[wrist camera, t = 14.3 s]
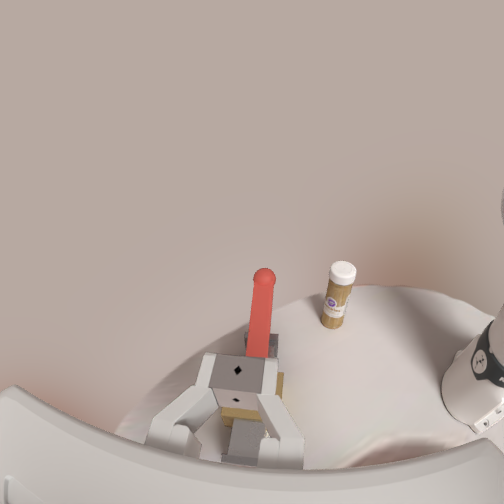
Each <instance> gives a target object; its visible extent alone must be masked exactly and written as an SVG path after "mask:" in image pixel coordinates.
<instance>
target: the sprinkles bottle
mask: <svg viewBox="0 0 504 504" xmlns="http://www.w3.org/2000/svg"><path fill="white" fill-rule="evenodd" d="M355 277H356V268H355V266H354V265H352V264H351V263H349V262H346V261H337V262H334V263H333V264H332V265H331V267H330V272H329V283H328V288H327V293H326V297H325V302H324V307H323V314H322V316H321V322H322V324H323V325H324V326H325V327H327V328H330V329H335V328H338V327H340V326H341V325H342V323H343V318H344V314H345V312H346V308H347V305H348V301H349V297H350V293H351V288H352V285H353V282H354V280H355Z"/></svg>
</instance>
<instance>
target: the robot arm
mask: <svg viewBox="0 0 504 504" xmlns="http://www.w3.org/2000/svg"><path fill="white" fill-rule="evenodd" d="M501 214H502V219H503V224H504V189H503V193H502V199H501ZM277 372H278V358H265V357H249V356H235V355H225V354H218V353H209V352H205V354H204V356H203V359H202V362H201V366H200V369H199V373H198V376H197V380H196V383H195V386H194V385H191V386H190V387H189V388H188V389H187V390H185V391H184V392H183V393H182V394H181V395H180V396H178V397H177V398H176V399H175V400H174V401H172V402H171V403H170V404H169V405H168V406H166V407H165V408H164V409H163V410H162V411H160V412H159V413H158V414H157V415H155V416H154V417H153V419H152V422H151V425H150V429H149V432H148V435H147V438H146V441H145V444H144V445H143V444H140V443H137V442H134V441H131V440H128V439H126V438H123V437H120V436H117V435H115V434H112V433H110V432H107V431H105V430H102V429H100V428H97V427H95V426H93V425H90V424H88V423H86V422H84V421H81V420H79V419H77V418H75V417H73V416H71V415H69V414H67V413H65V412H63V411H61V410H59V409H57V408H55V407H53V406H52V405H50V404H48V403H46V402H45V401H43V400H41V399H39V398H38V397H36V396H34V395H33V394H31V393H29V392H28V391H26V390H24V389H23V388H21V387H20V386H18V385H12V386H10V387H8V388H6V389H4V390H2V391H1V392H0V504H504V455H503V453H502V452H501V450H500V449H499V448H498V447H497V446H496V445H495V444H494V443H493V442H492V441H491V440H489V439H488V438H480V439H478V440H475V441H472V442H469V443H467V444H464V445H461V446H458V447H454V448H451V449H448V450H445V451H441V452H437V453H434V454H430V455H426V456H422V457H417V458H413V459H408V460H403V461H398V462H392V463H386V464H379V465H372V466H364V467H354V468H341V469H319V470H303V460H304V445H305V438H304V436H303V435H302V433H301V432H300V430H299V428H298V427H297V425H296V423H295V422H294V420H293V418H292V417H291V415H290V413H289V412H288V410H287V408H286V407H285V405H284V403H283V402H282V400H281V398H280V397H279V395H276V386H277ZM442 397H443V400H444V403H445V405H446V407H447V409H448V411H449V412H450V413H451V415H452V416H453V417H454V418H456V419H457V420H459V421H460V422H462V423H465V424H467V425H469V426H470V427H471V428H472V429H473V431H474V432H476V433H477V434H481V433H482V432H484V431H485V430H487V429H488V428H490V427H491V426H493V425H494V424H496V423H497V422H498V421H500V420H501V419H502V418H504V304H503V306H502V308H501V310H500V312H499V314H498V315H497V317H496V318H495V320H493V321H491V322H490V324H489V325H488V326H487V327H486V328H485V329H484V331H483V332H482V334H481V335H480V334H479V335H477V336H476V337H475V338H474V339H473V340H472V342H471V343H470V344H469V345H468V346H467V347H466V348H465V349H464V350H459V351H458V352H457V353H456V354H455V357H454V361H453V363H452V365H451V366H450V367H449V368H448V369H447V371H446V372H445V374H444V377H443V380H442ZM218 406H221V407H230V408H239V409H247V410H256V411H258V413H259V415H260V417H261V419H262V421H263V423H264V425H265V427H266V429H267V431H268V433H269V435H270V437H271V438H263V439H262V440H261V443H260V450H259V456H258V462H257V467H248V466H240V465H232V464H225V463H219V462H213V461H208V460H202V459H199V456H200V451H201V447H202V444H201V443H200V442H199V440H198V439H197V438H196V437H195V436H194V433H195V432H196V431H197V430H198V429H199V427H200V426H201V425H202V424H203V423H204V422H205V421H206V420H207V419H208V418H209V417H210V416H211V415H212V414H213V413H214V412H215V411H216V410H217V409H218ZM484 424H485V426H484Z"/></svg>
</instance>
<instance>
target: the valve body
mask: <svg viewBox="0 0 504 504" xmlns="http://www.w3.org/2000/svg"><path fill="white" fill-rule="evenodd" d="M244 338H245V347H246V349H247V341H248V332H245V337H244ZM277 352H278V334H270V337H269V348H268V358H277ZM245 356H246V355H245ZM283 376H284V373H281V372H277V386H276V395H279V397H280V398H281V400H282V388H283ZM221 417H222V419H223V422H224V424H225V426H230V427H232V433H231V438H230V443H229V449H228V454H222V458H221V463H225V464H232V465H240V466H248V467H257V462H258V456H259V450H260V443H261V440H262V439H263V438H265V436H266V430H267V429H266V427H265V425H264V423H263V421H262V419H261V417H260V415H259V413H258V411H256V410H247V409H239V408H230V407H222V411H221Z"/></svg>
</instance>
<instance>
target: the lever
mask: <svg viewBox="0 0 504 504" xmlns="http://www.w3.org/2000/svg"><path fill="white" fill-rule="evenodd" d="M253 280H254V289H253V299H252V306H251V316H250V324H249V332H248V341H247V349H246V356H249V357H265V358H268V348H269V337H270V326H271V314H272V300H273V288H274V284H275V281H276V277H275V274H274V273H273V271H271V270H270V269H268V268H262V269H259V270H258V271H257V272H256V273H255V274H254V279H253Z"/></svg>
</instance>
